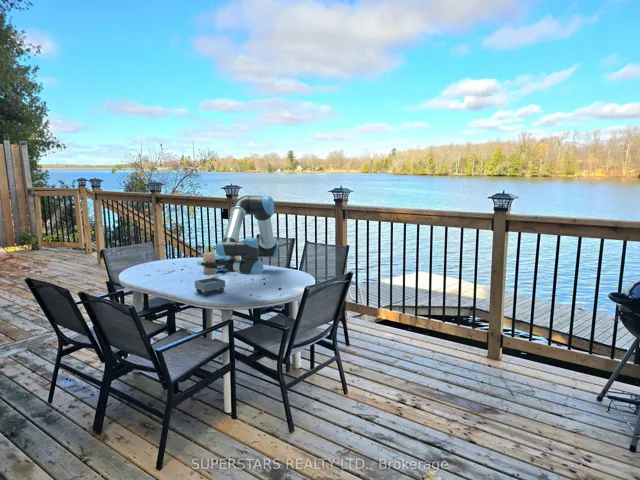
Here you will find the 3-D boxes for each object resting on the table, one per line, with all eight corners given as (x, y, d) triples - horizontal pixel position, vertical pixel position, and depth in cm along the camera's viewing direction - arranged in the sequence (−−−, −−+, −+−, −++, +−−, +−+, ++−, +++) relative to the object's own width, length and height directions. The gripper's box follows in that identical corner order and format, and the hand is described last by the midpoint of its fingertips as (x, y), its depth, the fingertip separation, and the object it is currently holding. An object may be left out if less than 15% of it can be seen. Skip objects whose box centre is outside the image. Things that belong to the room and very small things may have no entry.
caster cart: (215, 288, 235) (215, 276, 234) (225, 292, 227) (225, 280, 226) (195, 292, 226) (194, 280, 224) (204, 297, 218) (204, 284, 217)
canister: (211, 272, 229) (211, 251, 227) (217, 274, 224) (216, 253, 223) (201, 273, 224) (200, 253, 223) (207, 275, 220) (206, 254, 218)
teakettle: (211, 267, 288) (210, 247, 285) (236, 268, 285) (235, 248, 283) (200, 273, 269) (199, 252, 267) (226, 275, 267) (226, 253, 264)
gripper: (226, 276, 209) (190, 272, 217) (245, 268, 226) (212, 264, 235) (225, 262, 207) (190, 258, 216) (245, 255, 225) (212, 252, 234)
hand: (201, 261), depth 225 cm, fingers closed on canister, 6 cm apart
